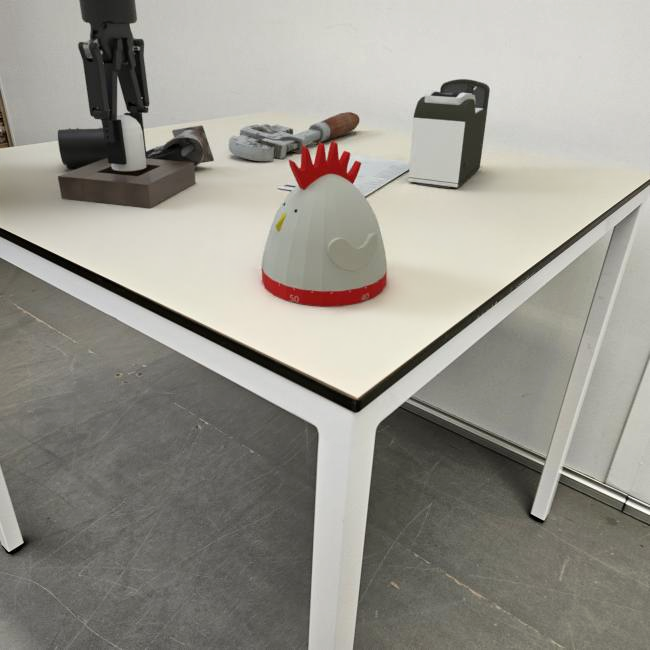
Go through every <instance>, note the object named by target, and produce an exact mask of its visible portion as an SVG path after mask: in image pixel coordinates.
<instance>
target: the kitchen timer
mask: <svg viewBox="0 0 650 650" xmlns="http://www.w3.org/2000/svg"><path fill="white" fill-rule="evenodd" d="M338 145H339V144H338V142H336V141H334V140H331V141H330V144H329V147H328V153H327V155H326V147H325V144H324V143H322V142H319V143H317V146H316V151H315V152H316V153H315V157H314V162H313V160H312V157H311V151H310V150H309V148H308V147H307V146H306V147H305V146H302V150H301V154H300V167H298V164H297V163H296V162H295V161H293V160H292V159H288V163H289V168H290V170H291V172H292V174H293V177H294V180H296V181H297V183H298V185H297V186H296V187H295V188H294V189H293V190H292V191H291V190H290V191H289V193H288V194H287V195H286V196H285V198H284V199H283V201H282V203H280V205H279V207H278V209H277V211H276V213H275V215H274V216H273V220H272V222H271V225H270V228H269V232H268V234H267V238H266V241H265V245H264V249H263V252H262V258H261V281H262V284H263V286H264V288H265V289H266V290H267V291H268V292H270V293H271V294H272V295H273V296H275V297H278V298H280V299H282V300H285V301H287V302H291V303H296V304H299V305H305V306H315V307H343V306H348V305H353V304H354V305H355V304H359V303H362V302H365V301H368V300H371V299H374V298H375V297H377V296H378V295H379V294H381V293H382V292H383V290H384V289H385V288H386V285H387V276H388V263H387V254H386V249H385V244H384V240H383V235H382V232H381V227H380V223H379V220H378V217H377V216H376V214H375V211H374V210H373V208H372V206H371V204H370V203H369V201H368V199H367V198H366V196H365V197H364V195H363V194H362V193H361V192H360V191H359V190H358V189H357V188H356V187H355V186H354V185H353V183H354V181H355V179H356V177H357V175H358V172H359V169H360V166H361V162H358V161H355V162H354V164H353V166H352V168H351V169H350V171H349V172H348V173H347V167H348V163H349V159H350V155H351V152H350V151H347V150H343V152H342V153H341V156H339V147H338Z"/></svg>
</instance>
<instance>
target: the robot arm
mask: <svg viewBox="0 0 650 650" xmlns="http://www.w3.org/2000/svg"><path fill="white" fill-rule="evenodd" d="M78 1H79V8H80V14H81V20H82V21H83V22H84V23H85V24H86V23H87V24H89V26H90V31H89V32H90V33H89V39H88V40H87V41H78V44H77V48H78V51H79V54H80V57H81V60H82V66H83V73H84V79H85V87H86V93H87V101H88V108H89V114H90V116H91V117H92V118H94V119H95V120H100V121H101V125H102V126H101V128H103V132H104V133H103V134H104V140H105V143H106V150H107V157H108V163H110V164H121V165H125V164H127V161H126V154H125V146H124V139H123V131H122V123H121V120H118V119H117V115H118V83H119V86H120V87H119V88H120V89H121V94H122V98H123V101H124V104H125V108H126V111H127V112H125V113H123V115H129V116H131V117H133V118H134V119H136V120H137V121H138V123H139V124H140V125H141V128H142V132H143V140H144V149H145V156H147V154H146V151H147V146H146V139H145V138H146V137H145V128H144V121H143V120H144V119H143V114H148V113H149V107H150V96H149V88H148V80H147V72H146V64H145V41H144V39H143V38H136V37H134V35H133V32H132V29H131V24H135V23H137V21H138V15H137V5H136V0H78Z"/></svg>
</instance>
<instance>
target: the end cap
mask: <svg viewBox="0 0 650 650" xmlns="http://www.w3.org/2000/svg"><path fill="white" fill-rule="evenodd" d="M103 133H104V132H103V127H102V126H101V127H99V128H78V127H77V128H70V127H69V128H66V129H58V130H57V144H58V150H59V155H60V159H61V162H62V164H63V165H64V166H66V168H67V169H73V168H74V169H75V168H76V169H78V168H81V167H84V166H86V165H89V164H92V163H94V162H97V161H100V160H103V159H105V158H108V157H107V150H106V143H105V140H104V134H103Z"/></svg>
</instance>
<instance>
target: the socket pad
mask: <svg viewBox="0 0 650 650" xmlns="http://www.w3.org/2000/svg"><path fill="white" fill-rule="evenodd" d="M57 181H58V185H59V186H58V187H59V191H60V197H61V199H64V200H73V201H80V202H81V201H82V202H91V203H100V204H110V205H116V206H117V205H118V206H119V205H120V206H127V207H128V206H129V207H136V208H137V207H138V208H146V209H151V208H153V207H156V206H157V205H159V204H161V203H162V202H164V201H166V200H167V199H169V198H172V197H173V196H175V195H177V194H178V193H180V192H183V191H184V190H186V189H188V188H190V187H192V186H193V185H195V184H196V170H195V168H194V163H193V162H182V161H170V160H159V159H148V158H146V168H144V169H141V170H136V171H117V170H113V169H112V166H111V164H110V163H108V158H105V159H103V160H100V161H97V162H94V163H92V164H89V165H86V166H84V167H77V168H76V169H75V168H74V169H73V170H70V171H68V172H65V173H62V174H60V175H57Z"/></svg>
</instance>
